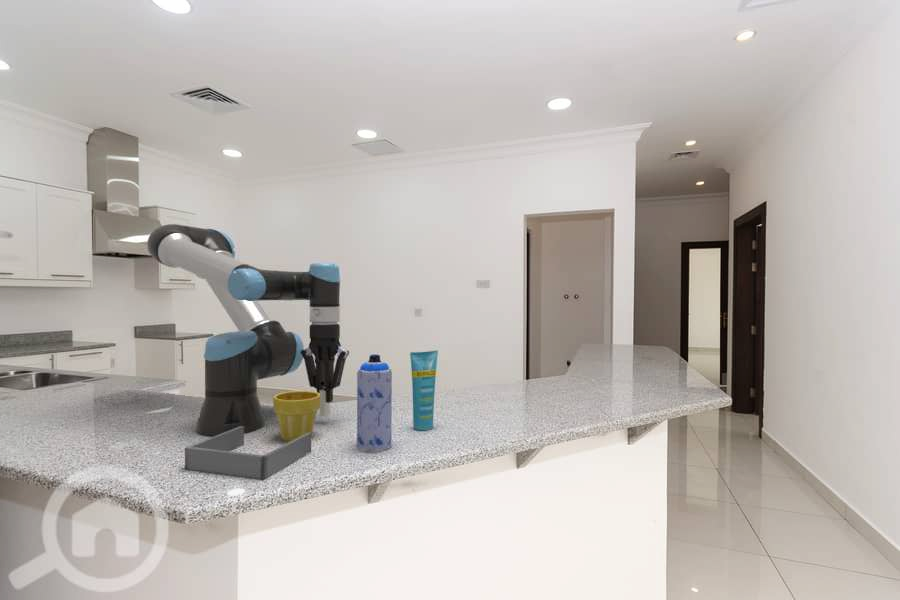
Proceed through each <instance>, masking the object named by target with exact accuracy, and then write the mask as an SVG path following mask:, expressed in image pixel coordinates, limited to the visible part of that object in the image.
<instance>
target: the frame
mask: <svg viewBox="0 0 900 600" xmlns="http://www.w3.org/2000/svg"><path fill="white" fill-rule="evenodd" d="M244 445H245V433H244V426H240V427H237V428H234V429H232V430H229V431H227V432H224V433H222V434H219V435H217V436H212V437H211V436H210V437H209V438H207V439H204V440H201V441H199V442H196V443H194V444H192V445H189V446H186V447H184V470H189V471H191V470H192V471H198V472H206V473H213V474H219V475H220V474H221V475H227V476H235V477H242V478H249V477H250V478H251V479H257V478H259V479H258V480H264V481H265V480H266V479H268V478H269V476H270V477H271V476H273V475H274V473H275V474H276V473H278V472H280V471H281V470H283V469H285V468H286V467H288V466H290V465H292V464H293V463H295V462H297V461H298V460H300V459H301V457H302V458H303V457H305V456H306V454H307V453H308V454H310V453H311V452H312V435H311V433H306V434H304V435H302V436H300V437H298V438H296V439H294V440H292V441H288V442H287V443H284V444H283V445H281V446H279V447H277V448H274V449H273V450H271V451H269V452H267V453H265V454H254V453H245V452H240V451H239V452H238V451H232V450H234V449H237V448H239V447H242V446H244ZM309 452H310V453H309ZM308 454H307V455H308ZM304 455H305V456H304ZM299 458H300V459H299ZM297 459H298V460H297ZM296 460H297V461H296ZM294 461H295V462H294ZM292 462H293V463H292ZM289 464H290V465H289ZM284 467H285V468H284ZM272 474H273V475H272ZM250 478H249V479H250Z"/></svg>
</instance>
